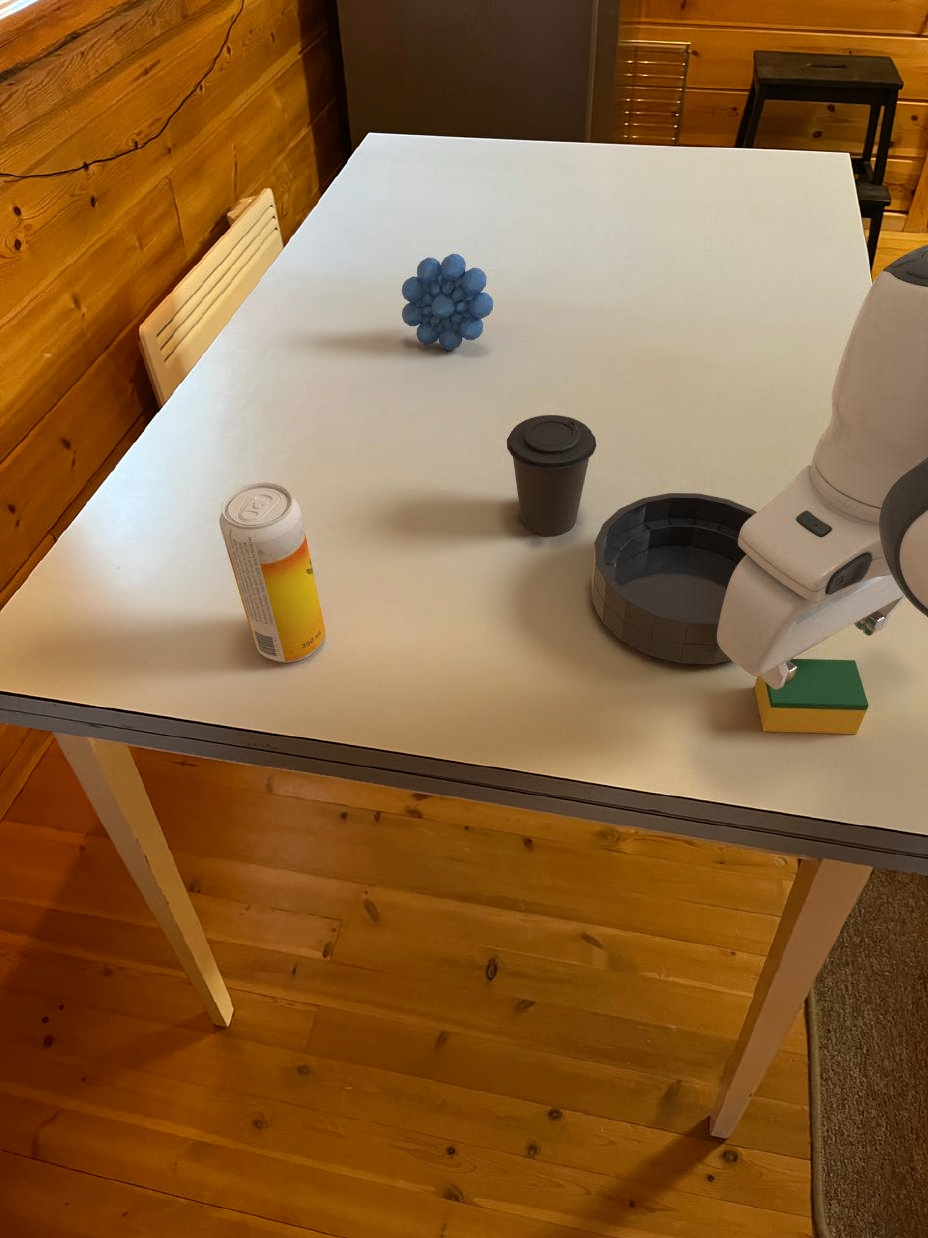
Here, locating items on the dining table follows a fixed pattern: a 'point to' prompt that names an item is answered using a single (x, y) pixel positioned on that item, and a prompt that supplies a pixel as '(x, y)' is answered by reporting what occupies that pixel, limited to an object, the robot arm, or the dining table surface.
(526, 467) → the coffee cup
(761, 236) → the dining table surface
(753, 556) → the robot arm
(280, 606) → the beer can
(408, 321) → the blue knobbed flower
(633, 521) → the bowl
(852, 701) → the sponge
